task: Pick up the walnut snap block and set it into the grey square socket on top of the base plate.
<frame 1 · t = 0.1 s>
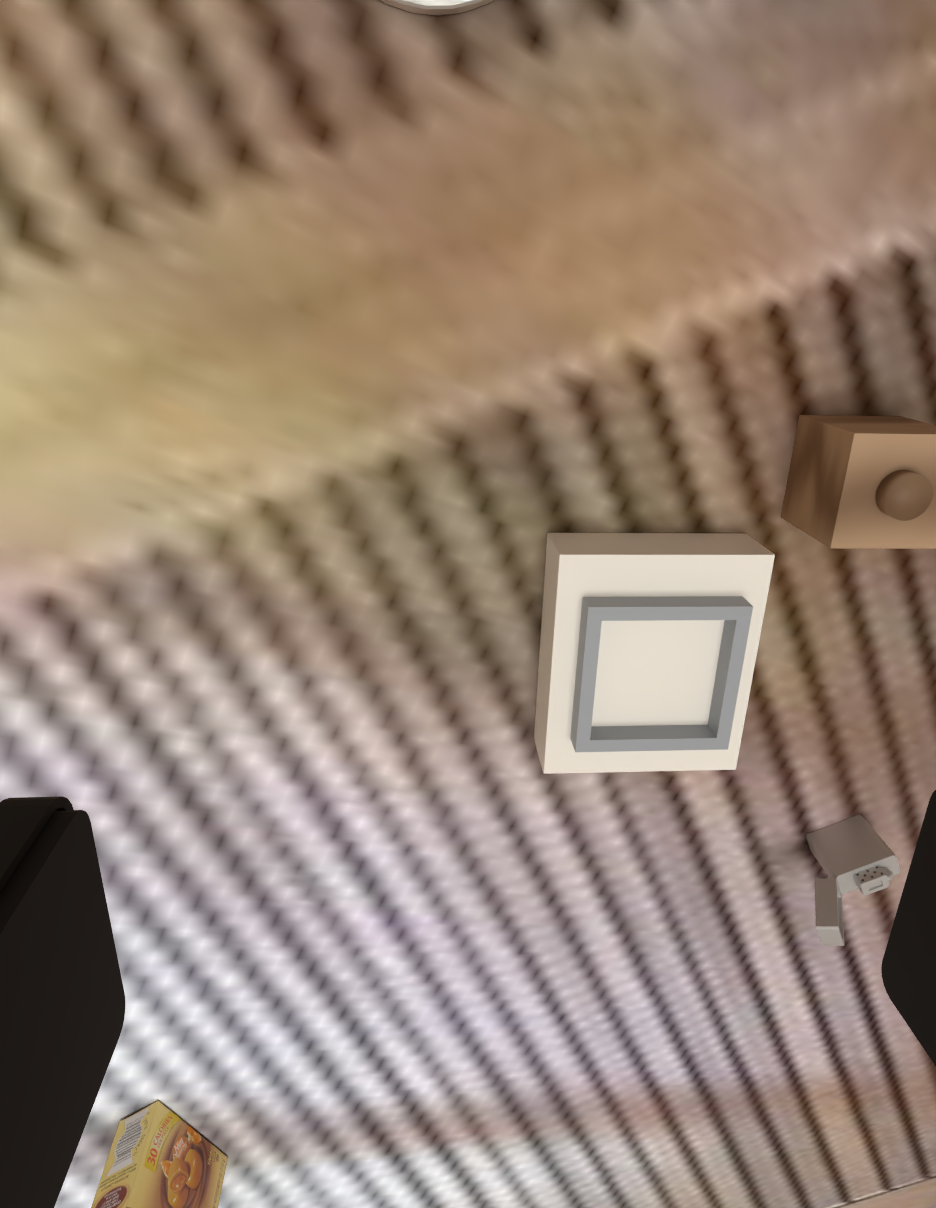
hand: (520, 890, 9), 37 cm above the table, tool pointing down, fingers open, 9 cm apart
lighter: (814, 838, 56), on the table
candy box: (177, 1134, 63), on the table
walnut block: (838, 467, 46), on the table
base plate: (635, 640, 49), on the table
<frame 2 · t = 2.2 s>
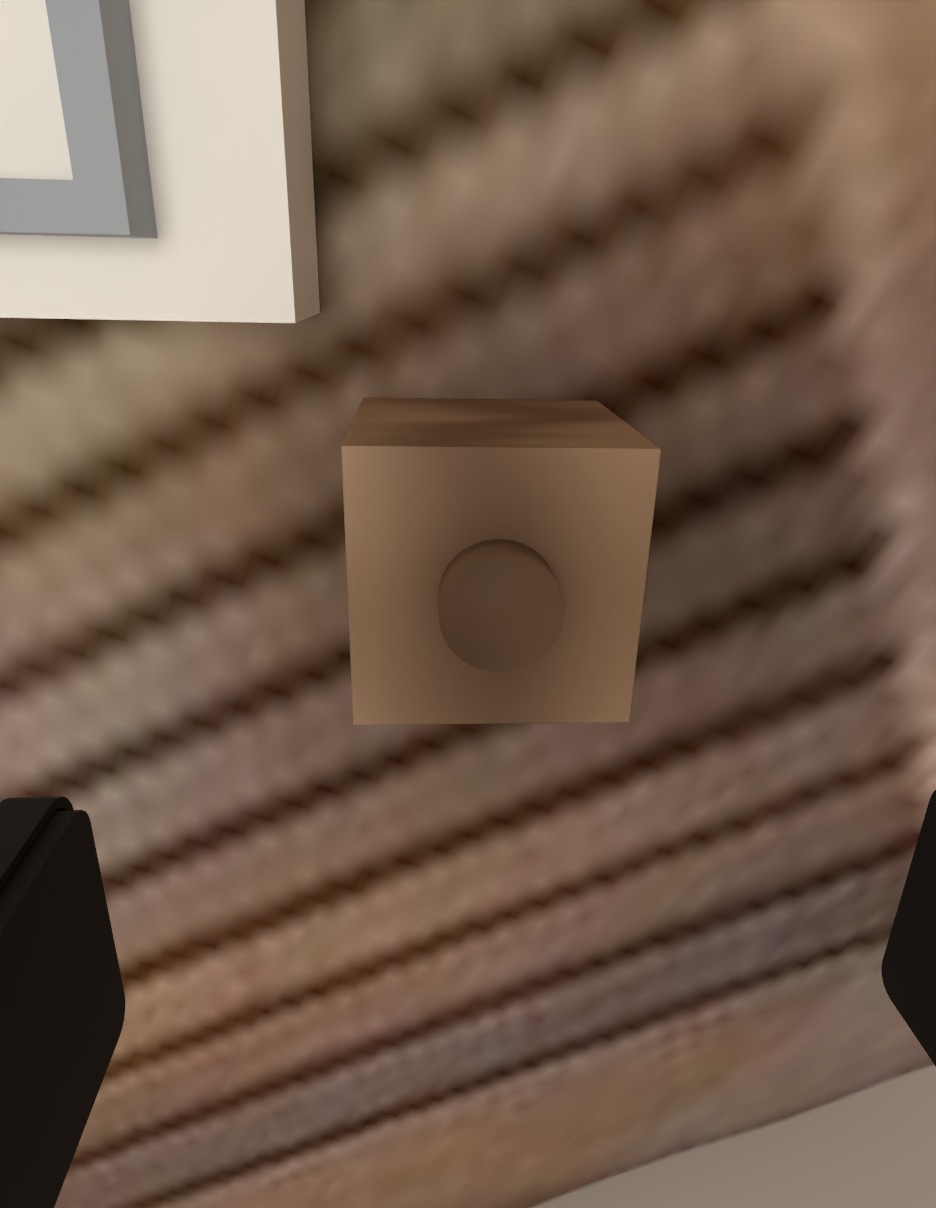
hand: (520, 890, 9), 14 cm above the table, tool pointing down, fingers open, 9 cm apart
walnut block: (478, 511, 21), on the table
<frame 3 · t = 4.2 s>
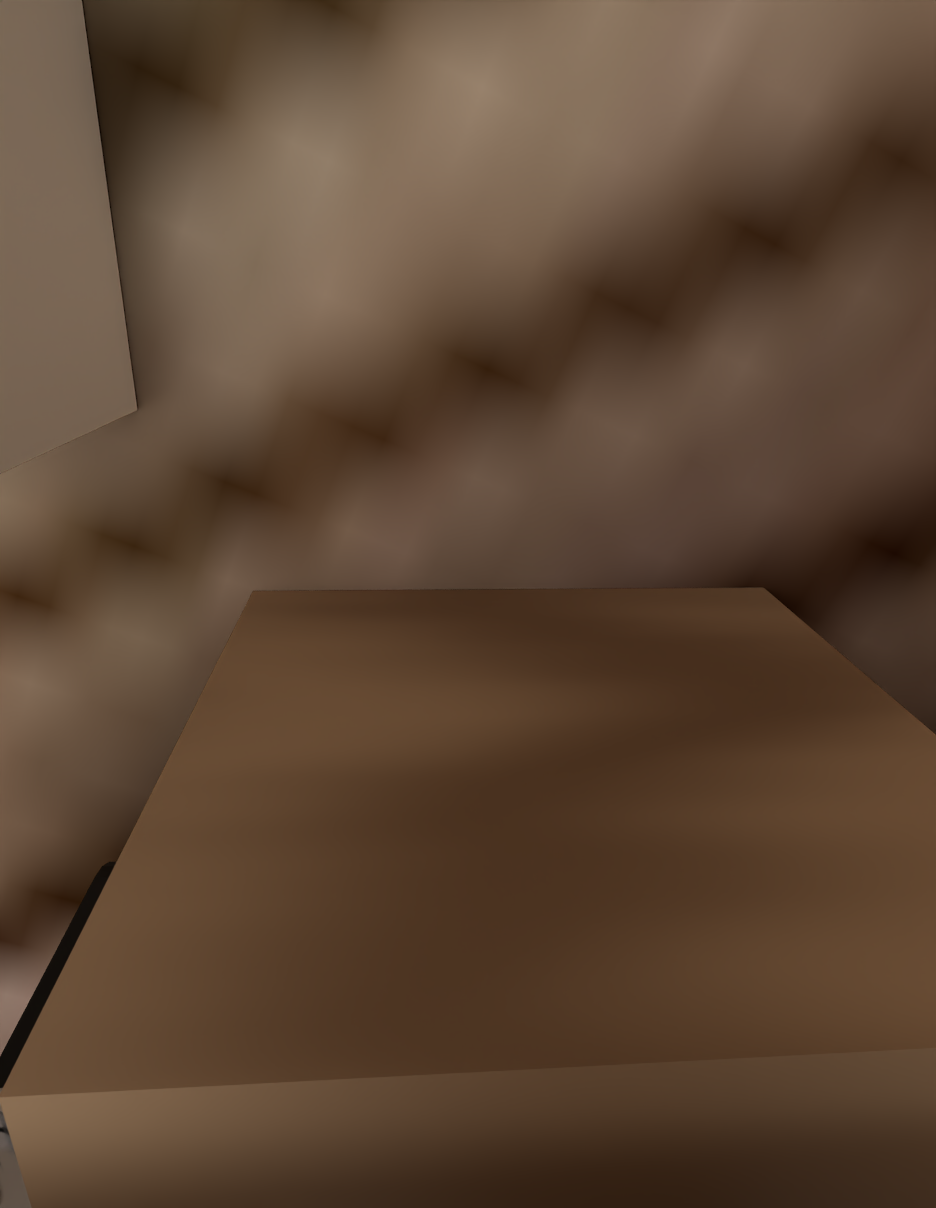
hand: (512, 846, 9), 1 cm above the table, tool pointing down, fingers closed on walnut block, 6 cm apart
walnut block: (504, 802, 10), on the table, touching gripper
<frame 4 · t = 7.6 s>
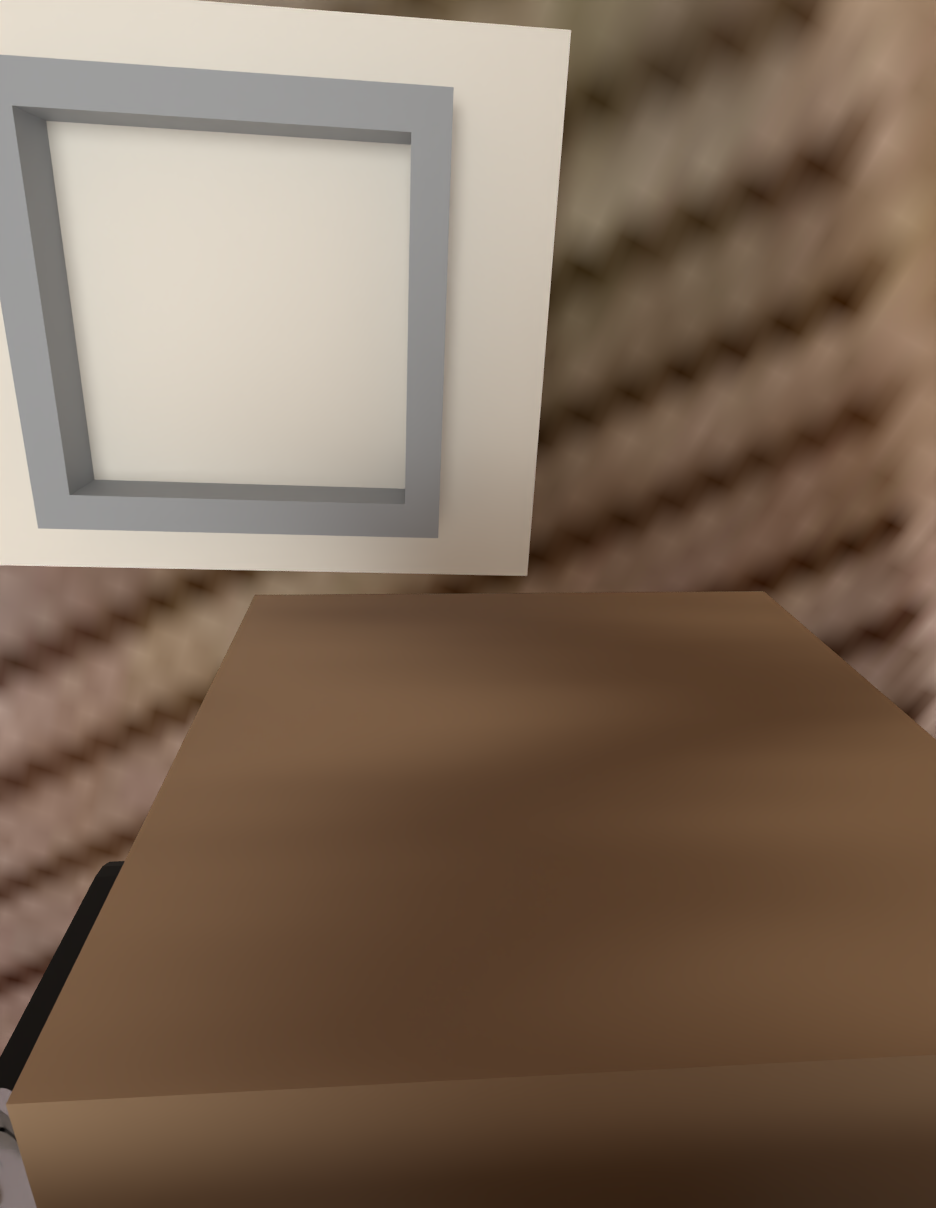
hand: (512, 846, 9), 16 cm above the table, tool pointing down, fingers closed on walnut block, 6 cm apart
walnut block: (505, 805, 10), point 15 cm above the table, touching gripper
base plate: (271, 315, 21), on the table
when the fingers open (7 cm above the table, at t = 11.1 s): walnut block drops 2 cm, resting on base plate.
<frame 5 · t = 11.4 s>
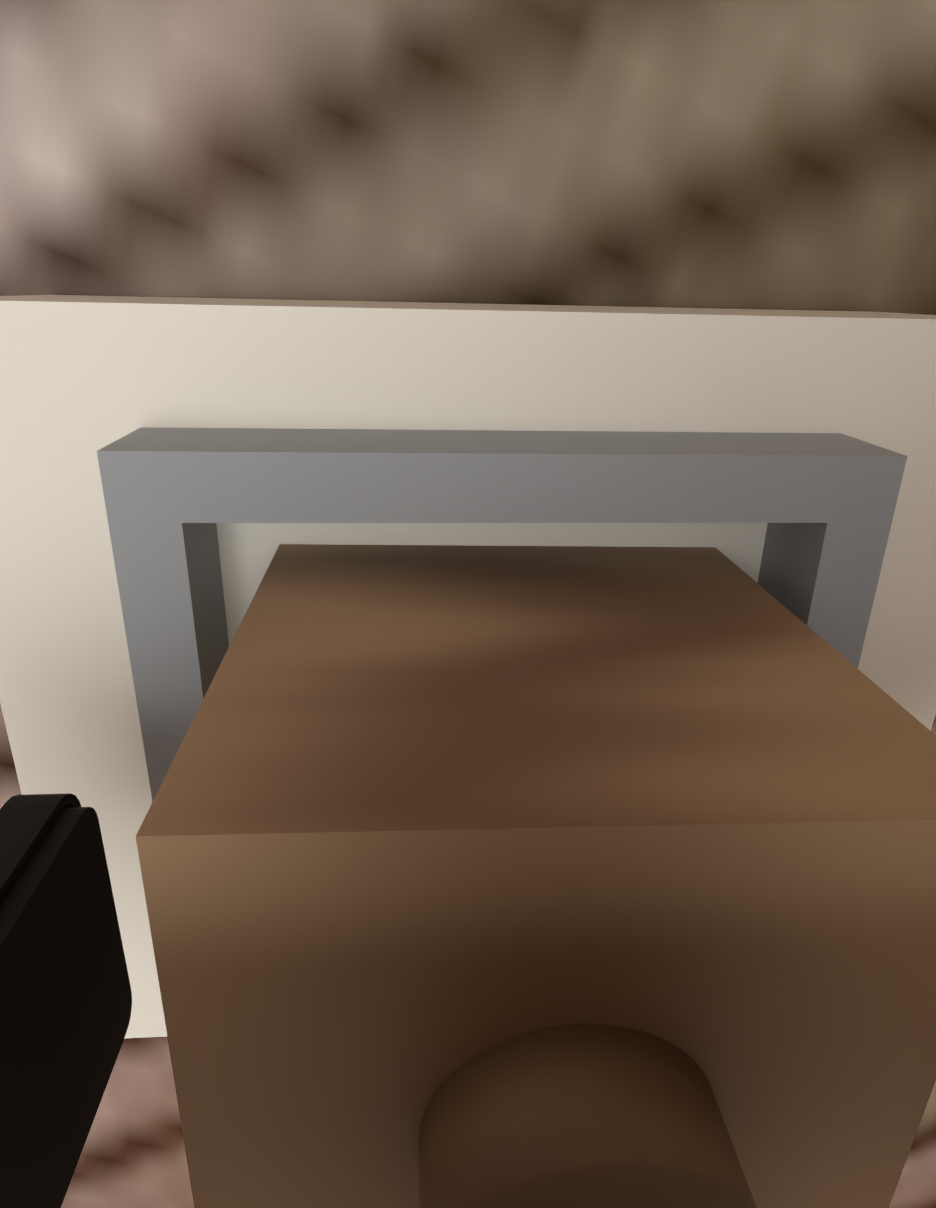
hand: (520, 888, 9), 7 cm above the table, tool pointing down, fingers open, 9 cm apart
walnut block: (492, 734, 12), point 4 cm above the table, touching base plate
base plate: (471, 627, 16), on the table
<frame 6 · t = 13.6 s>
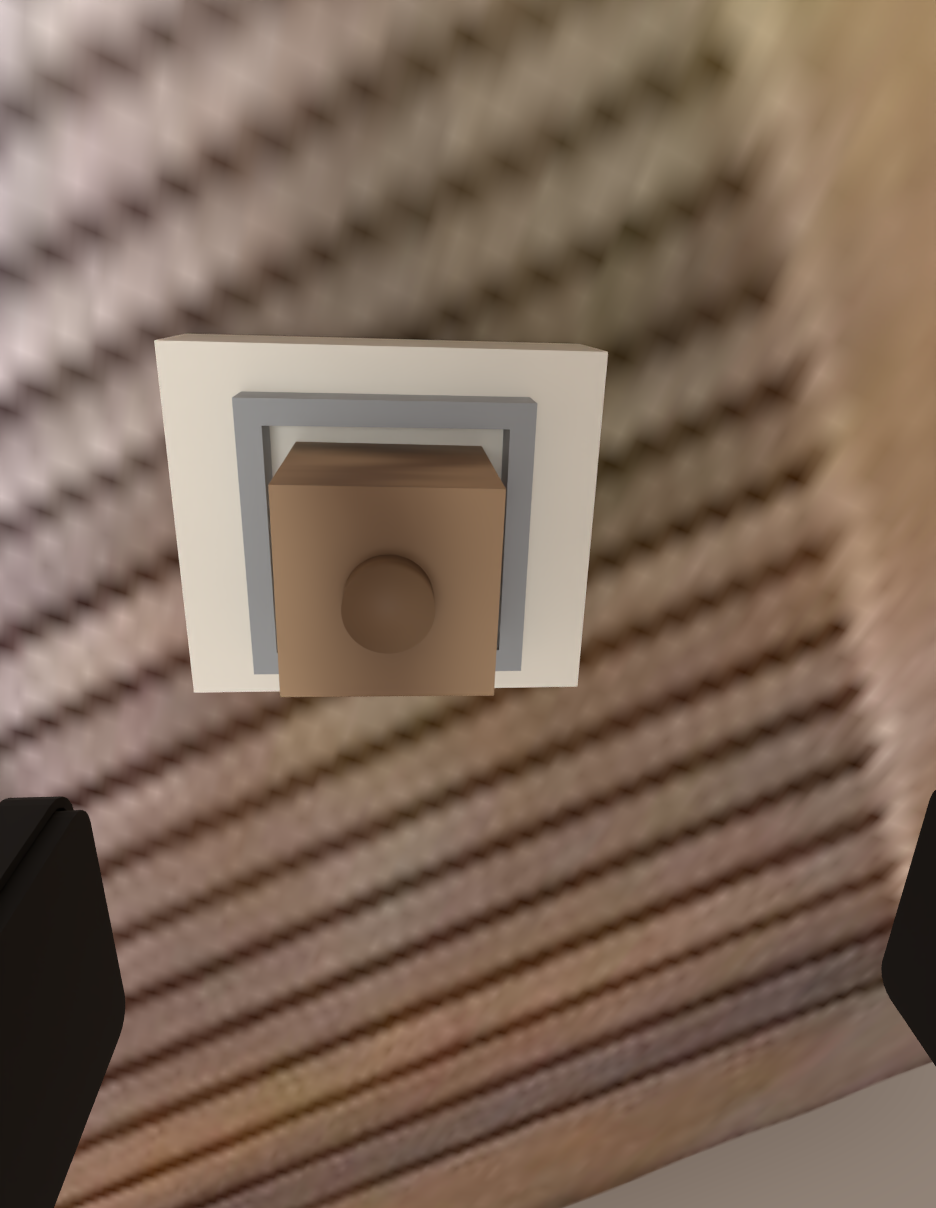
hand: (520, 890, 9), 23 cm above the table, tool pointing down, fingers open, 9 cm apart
walnut block: (389, 532, 26), point 4 cm above the table, touching base plate
base plate: (389, 502, 30), on the table
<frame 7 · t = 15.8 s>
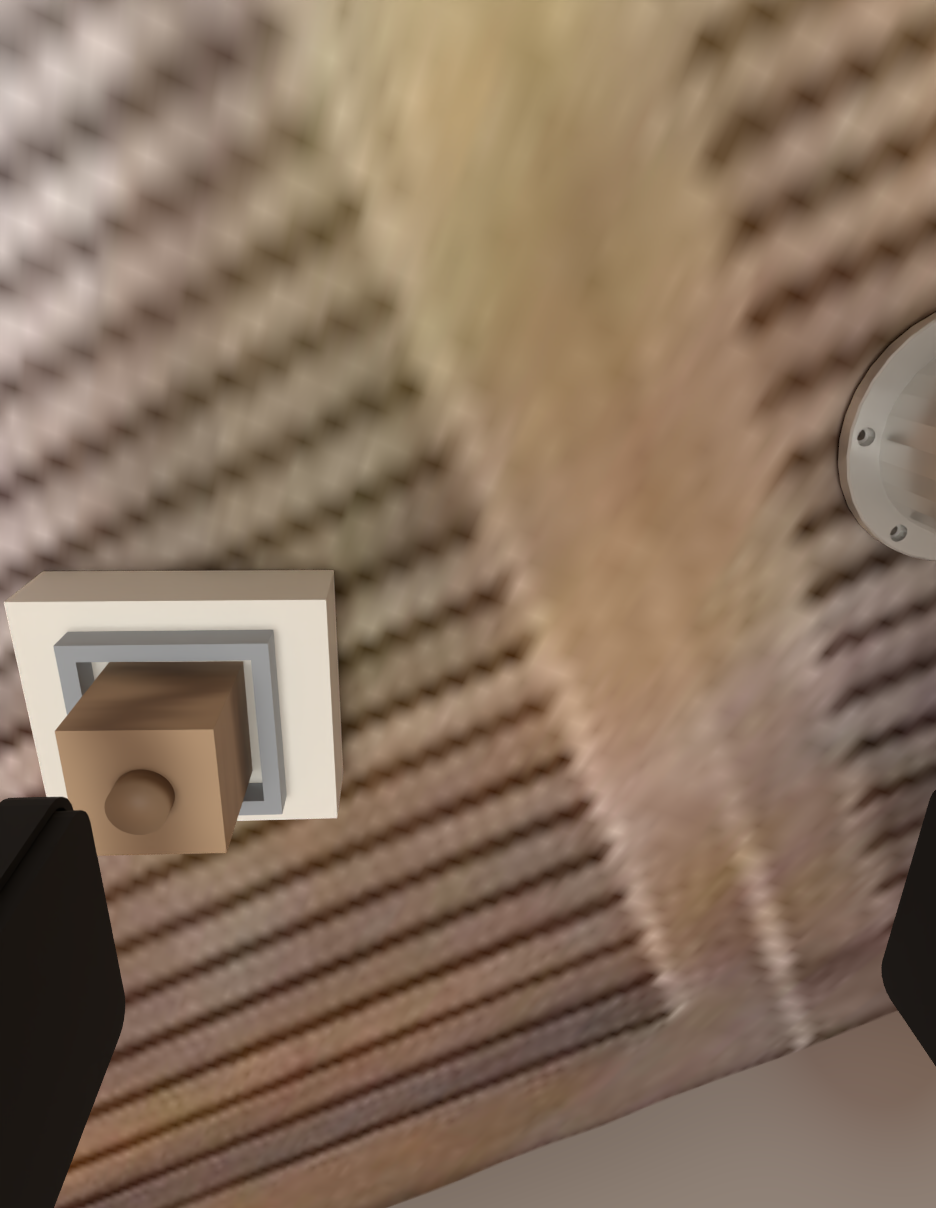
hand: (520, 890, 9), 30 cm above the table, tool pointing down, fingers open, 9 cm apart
walnut block: (183, 718, 37), point 4 cm above the table, touching base plate
base plate: (203, 678, 41), on the table
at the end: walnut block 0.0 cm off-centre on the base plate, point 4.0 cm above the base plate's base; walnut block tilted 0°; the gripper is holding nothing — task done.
